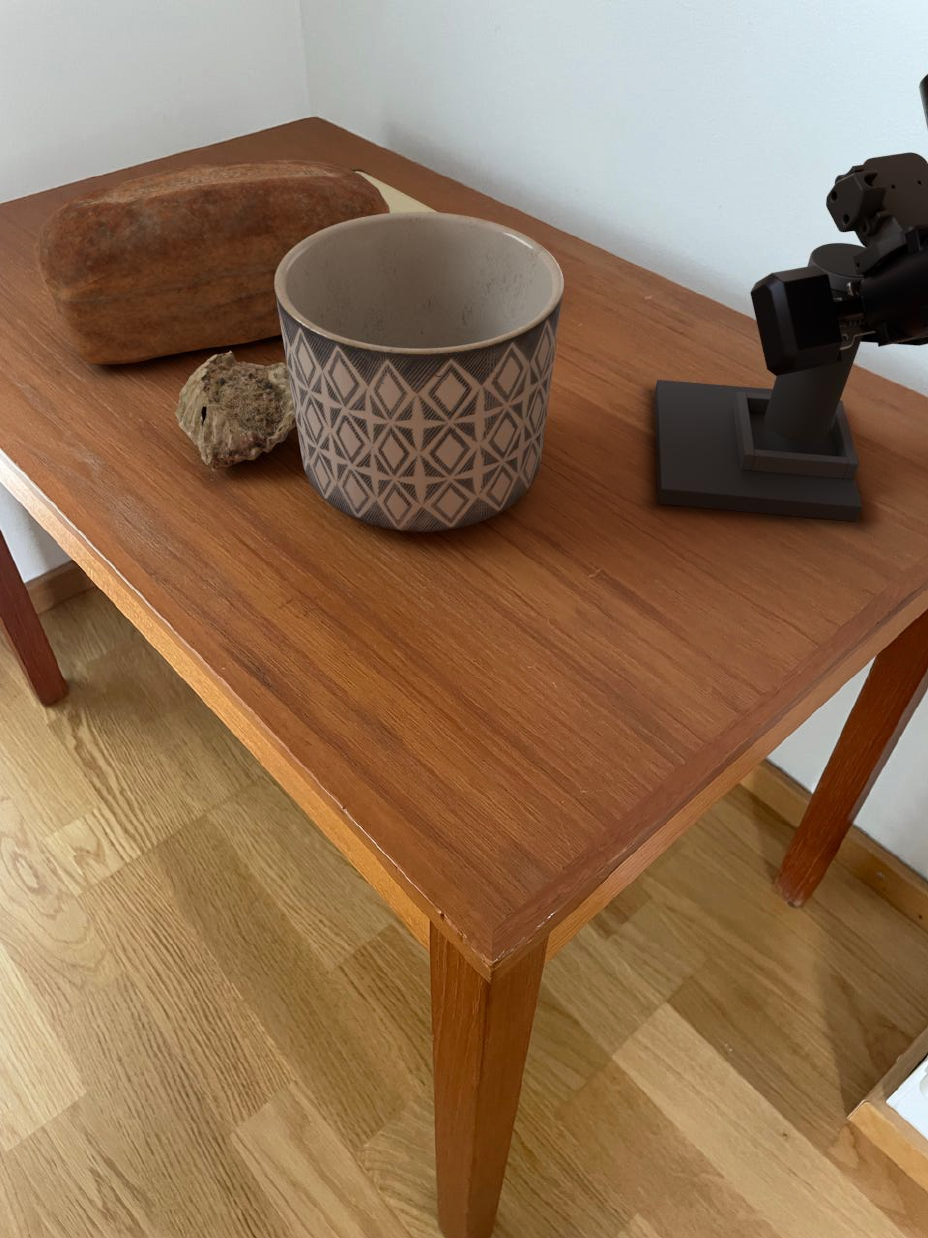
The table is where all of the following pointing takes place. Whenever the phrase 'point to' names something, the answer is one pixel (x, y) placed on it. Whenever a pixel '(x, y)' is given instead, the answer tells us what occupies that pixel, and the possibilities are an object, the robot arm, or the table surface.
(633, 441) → the table surface
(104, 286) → the bread
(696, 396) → the base pad
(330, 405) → the planter
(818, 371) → the dark grey cylinder
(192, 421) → the seashell
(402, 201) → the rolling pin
